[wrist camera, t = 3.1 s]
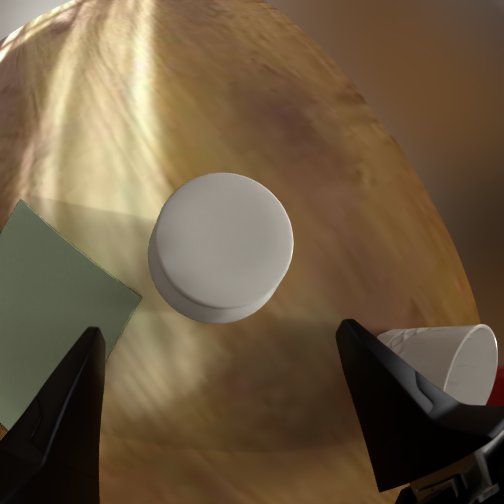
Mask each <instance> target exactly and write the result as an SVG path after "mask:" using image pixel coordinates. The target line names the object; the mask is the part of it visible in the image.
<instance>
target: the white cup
mask: <svg viewBox="0 0 504 504" xmlns="http://www.w3.org/2000/svg"><path fill="white" fill-rule="evenodd" d="M377 339H379V340H380V341H381V342H382V343H383V344H385V345H386V346H387V347H388V348H390V349H391V350H392V351H393V352H394V353H396V354H397V355H398V356H399V357H400V358H402V359H403V360H404V361H405V362H407V363H408V364H409V365H410V366H411V367H413V368H414V369H415V371H417V372H419V373H420V374H421V375H422V376H424V377H425V378H426V379H427V380H429V381H430V382H431V383H433V384H434V385H435V386H437V387H438V388H440V389H441V390H442V391H444V392H445V393H447V394H448V395H450V396H451V397H453V398H454V399H456V400H457V401H459V402H461V403H464V404H469V405H486V403H487V401H488V398H489V396H490V393H491V391H492V388H493V384H494V381H495V376H496V371H497V362H498V351H497V343H496V339H495V336H494V333H493V331H492V330H491V329H490V328H489V327H488V326H487V325H484V324H479V325H466V326H447V327H429V328H414V329H392V330H389V331H387V332H384V333H382V334H380V335H379V336H378V337H377Z"/></svg>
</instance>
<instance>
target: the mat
mask: <svg viewBox="0 0 504 504" xmlns="http://www.w3.org/2000/svg"><path fill="white" fill-rule="evenodd" d="M141 299H142V297H141V296H140V295H139V294H137V293H136V292H134V291H133V290H131V289H130V288H129V287H127V286H126V285H124V284H123V283H122V282H120V281H119V280H117V279H116V278H115V277H113V276H112V275H111V274H109V273H108V272H107V271H105V270H104V269H103V268H101V267H100V266H99V265H97V264H96V263H95V262H94V261H92V260H91V259H90V258H88V257H87V256H86V255H85V254H83V253H82V252H81V251H80V250H78V249H77V248H76V247H75V246H74V245H72V244H71V243H70V242H69V241H68V240H66V239H65V238H64V237H63V236H62V235H60V234H59V233H58V232H57V231H56V230H55V229H53V228H52V227H51V226H50V225H49V224H48V223H47V222H46V221H44V220H43V219H42V218H41V217H40V216H39V215H38V214H37V213H36V212H35V211H34V210H32V209H31V208H30V207H29V206H28V205H27V204H26V203H25V202H24V201H23V200H21V199H20V201H19V202H18V204H17V206H16V207H15V209H14V211H13V212H12V214H11V216H10V217H9V219H8V221H7V223H6V224H5V226H4V228H3V230H2V232H1V234H0V423H1V424H2V425H3V426H4V427H5V428H6V429H7V430H8V431H9V430H10V429H11V428H12V426H13V425H14V424H15V423H16V422H17V420H18V419H19V418H20V416H21V415H22V414H23V413H24V411H25V410H26V409H27V407H28V406H29V404H30V403H31V402H32V400H33V399H34V397H35V396H37V393H38V392H39V390H40V389H41V387H42V386H43V385H44V383H45V382H46V380H47V379H48V378H49V376H50V375H51V374H52V372H53V371H54V369H55V368H56V367H57V365H58V364H59V363H60V361H61V360H62V359H63V358H64V356H65V355H66V354H67V352H68V351H69V350H70V349H71V347H72V346H73V345H74V343H75V342H76V341H77V340H78V338H79V337H80V336H81V335H82V333H83V332H84V331H85V330H86V329H87V328H88V327H89V326H93V327H99V328H100V330H101V332H102V335H103V337H104V340H105V343H106V351H105V362H106V360H107V358H108V356H109V354H110V352H111V351H112V349H113V347H114V345H115V343H116V341H117V340H118V338H119V336H120V334H121V333H122V331H123V329H124V327H125V326H126V324H127V322H128V320H129V319H130V317H131V315H132V314H133V312H134V310H135V309H136V307H137V305H138V303H139V302H140V300H141Z"/></svg>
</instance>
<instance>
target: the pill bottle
mask: <svg viewBox="0 0 504 504" xmlns="http://www.w3.org/2000/svg"><path fill="white" fill-rule="evenodd" d="M292 253H293V233H292V228H291V224H290V220H289V218H288V216H287V213H286V211H285V210H284V208H283V206H282V204H281V203H280V202H279V200H278V199H277V198H276V197H275V196H274V195H273V194H272V193H271V192H270V191H269V190H268V189H267V188H265V187H264V186H263V185H261V184H260V183H258V182H256V181H254V180H252V179H250V178H248V177H245V176H241V175H238V174H233V173H232V174H231V173H212V174H206V175H203V176H199V177H196V178H194V179H192V180H190V181H188V182H186V183H185V184H183V185H182V186H181V187H179V188H178V189H177V190H176V191H175V192H174V193H173V194H172V195H171V196H170V197H169V198H168V200H167V201H166V202H165V204H164V206H163V207H162V209H161V212H160V214H159V216H158V219H157V223H156V225H155V227H154V229H153V232H152V234H151V238H150V242H149V248H148V262H149V269H150V273H151V276H152V279H153V282H154V284H155V286H156V288H157V290H158V291H159V293H160V294H161V296H162V297H163V298H164V300H165V301H166V302H167V303H168V304H169V305H170V306H171V307H172V308H174V309H175V310H176V311H178V312H179V313H181V314H182V315H184V316H186V317H188V318H191V319H193V320H196V321H200V322H205V323H215V324H216V323H229V322H234V321H237V320H240V319H243V318H245V317H247V316H249V315H251V314H253V313H254V312H256V311H257V310H258V309H260V308H261V307H262V306H263V305H264V304H265V303H266V302H267V301H268V300H269V298H270V297H271V296H272V294H273V293H274V291H275V290H276V288H277V286H278V284H279V283H280V282H281V280H282V279H283V277H284V276H285V274H286V272H287V270H288V267H289V265H290V262H291V258H292Z"/></svg>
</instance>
